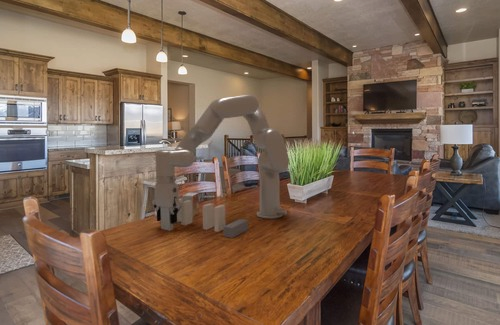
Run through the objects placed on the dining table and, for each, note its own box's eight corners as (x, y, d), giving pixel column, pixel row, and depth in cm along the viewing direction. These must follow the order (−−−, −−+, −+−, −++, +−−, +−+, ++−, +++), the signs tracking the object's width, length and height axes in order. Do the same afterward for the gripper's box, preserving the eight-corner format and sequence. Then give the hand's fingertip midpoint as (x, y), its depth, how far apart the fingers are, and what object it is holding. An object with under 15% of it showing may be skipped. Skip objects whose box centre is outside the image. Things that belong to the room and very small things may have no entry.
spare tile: (164, 227, 132) (163, 204, 131) (173, 229, 130) (172, 205, 129) (161, 228, 130) (160, 205, 129) (169, 230, 128) (169, 207, 127)
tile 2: (192, 222, 139) (191, 200, 138) (184, 225, 135) (184, 203, 134) (189, 222, 140) (188, 200, 139) (181, 224, 136) (180, 202, 135)
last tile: (225, 228, 130) (225, 205, 129) (218, 231, 126) (218, 207, 125) (221, 227, 131) (221, 204, 130) (214, 231, 127) (214, 207, 126)
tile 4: (213, 226, 133) (213, 203, 132) (206, 229, 129) (206, 206, 128) (210, 225, 134) (209, 203, 133) (202, 228, 130) (202, 205, 129)
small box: (193, 217, 148) (192, 195, 146) (182, 217, 149) (181, 195, 148) (199, 213, 155) (198, 192, 154) (188, 212, 156) (188, 192, 155)
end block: (248, 229, 129) (248, 220, 128) (232, 238, 119) (232, 227, 118) (239, 228, 131) (239, 218, 130) (223, 236, 120) (223, 226, 120)
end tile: (182, 220, 142) (181, 199, 141) (174, 223, 138) (174, 201, 137) (179, 220, 143) (178, 198, 142) (171, 222, 139) (170, 201, 138)
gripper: (187, 180, 127) (188, 222, 129) (157, 177, 136) (158, 216, 137) (174, 182, 120) (176, 227, 122) (143, 179, 129) (145, 221, 131)
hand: (167, 221), depth 130 cm, fingers open, 7 cm apart
